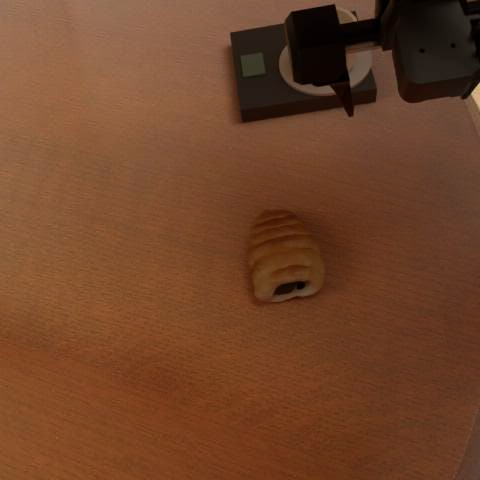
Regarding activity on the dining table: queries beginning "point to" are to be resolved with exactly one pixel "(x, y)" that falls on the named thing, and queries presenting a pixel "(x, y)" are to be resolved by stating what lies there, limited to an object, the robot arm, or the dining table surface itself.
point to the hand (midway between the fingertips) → (405, 104)
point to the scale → (286, 77)
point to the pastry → (283, 257)
